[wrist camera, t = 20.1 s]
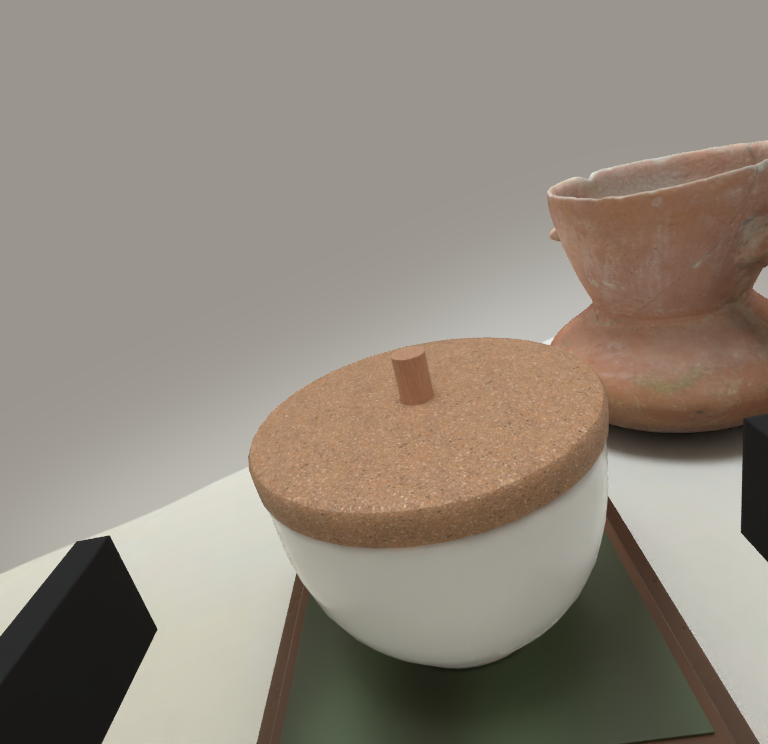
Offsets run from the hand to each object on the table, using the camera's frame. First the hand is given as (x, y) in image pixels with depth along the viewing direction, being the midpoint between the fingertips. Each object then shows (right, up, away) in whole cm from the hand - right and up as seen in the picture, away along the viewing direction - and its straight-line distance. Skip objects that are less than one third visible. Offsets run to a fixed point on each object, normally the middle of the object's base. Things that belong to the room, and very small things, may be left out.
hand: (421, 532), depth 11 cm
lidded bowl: (+2, -5, +8) cm, 10 cm away
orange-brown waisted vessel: (+18, +1, +23) cm, 29 cm away
